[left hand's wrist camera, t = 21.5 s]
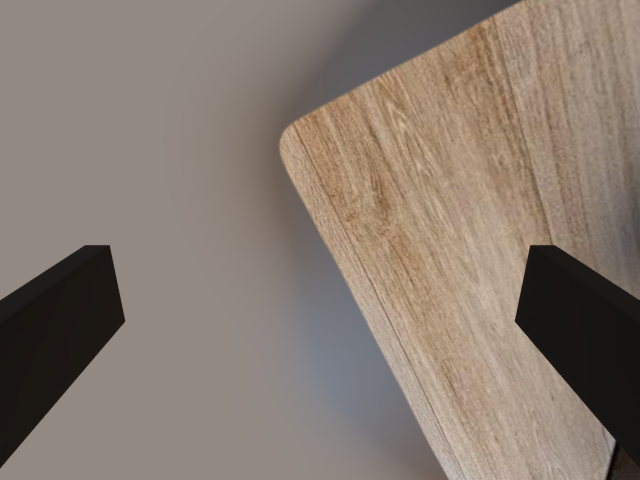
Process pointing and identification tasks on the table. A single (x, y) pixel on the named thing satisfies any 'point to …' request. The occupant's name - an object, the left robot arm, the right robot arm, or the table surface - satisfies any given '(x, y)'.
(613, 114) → the table surface
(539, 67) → the table surface
